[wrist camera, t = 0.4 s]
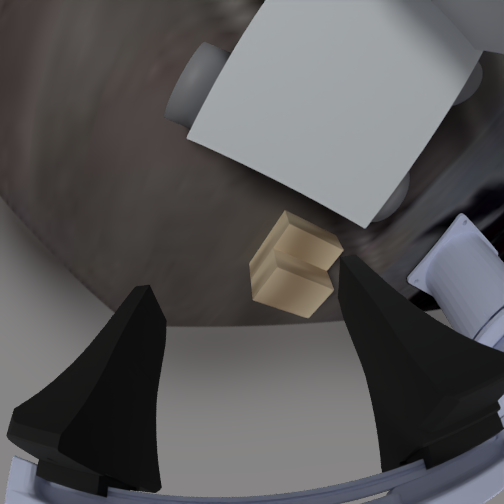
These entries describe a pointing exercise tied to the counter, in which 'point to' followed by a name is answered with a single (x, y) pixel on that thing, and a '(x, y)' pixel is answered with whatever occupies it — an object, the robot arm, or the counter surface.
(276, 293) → the block
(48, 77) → the counter surface
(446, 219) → the counter surface
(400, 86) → the trolley
